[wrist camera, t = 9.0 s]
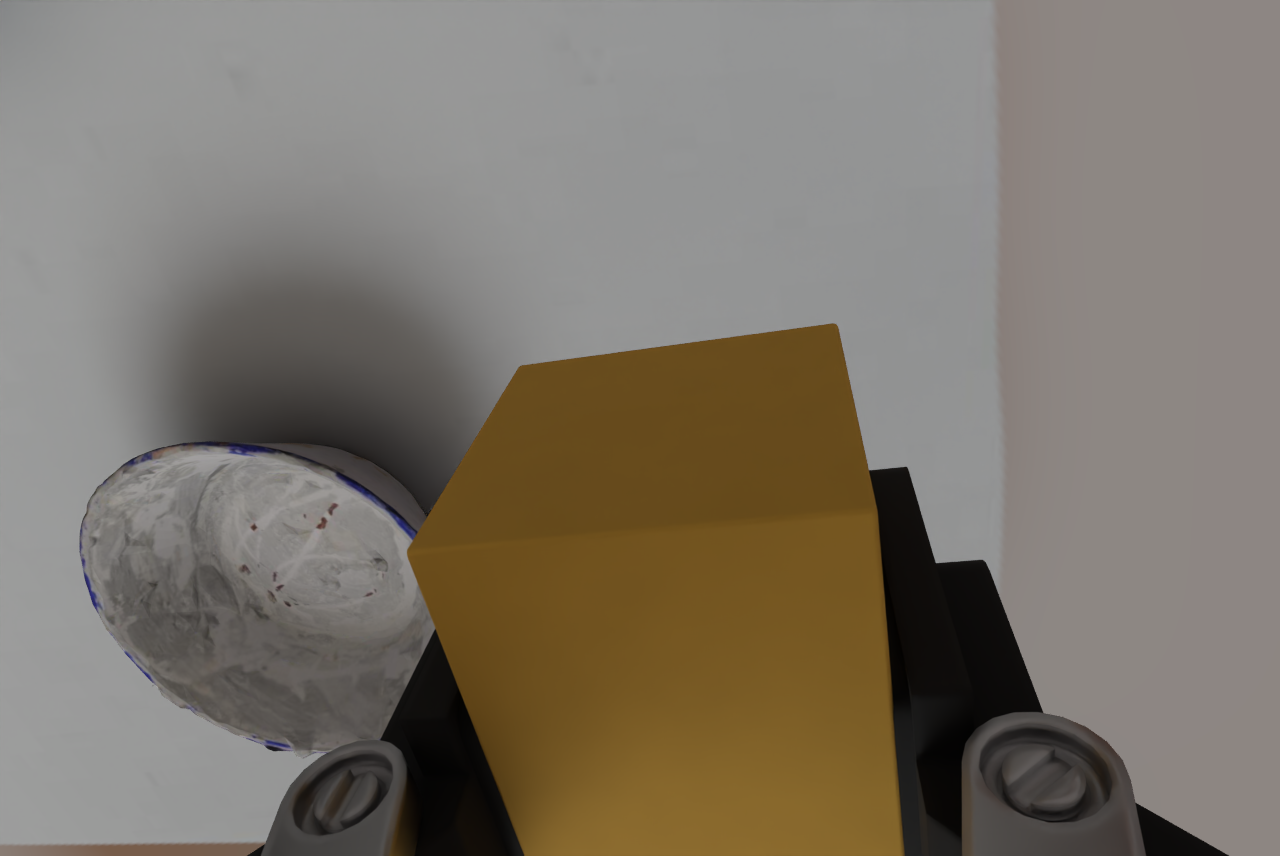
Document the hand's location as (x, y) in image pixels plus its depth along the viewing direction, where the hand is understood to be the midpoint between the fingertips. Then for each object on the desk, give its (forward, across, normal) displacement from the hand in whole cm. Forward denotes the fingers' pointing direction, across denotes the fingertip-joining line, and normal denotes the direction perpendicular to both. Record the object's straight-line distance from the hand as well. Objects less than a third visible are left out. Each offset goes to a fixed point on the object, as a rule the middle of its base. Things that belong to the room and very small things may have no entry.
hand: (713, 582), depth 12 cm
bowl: (+15, +16, +8) cm, 24 cm away
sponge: (0, 0, 0) cm, 0 cm away
